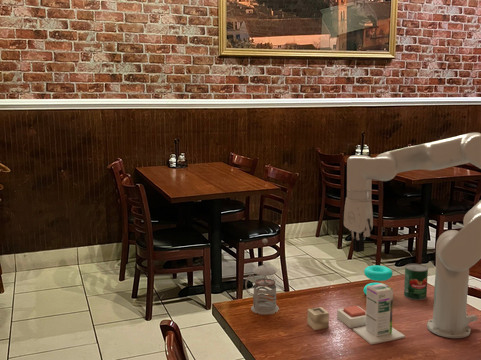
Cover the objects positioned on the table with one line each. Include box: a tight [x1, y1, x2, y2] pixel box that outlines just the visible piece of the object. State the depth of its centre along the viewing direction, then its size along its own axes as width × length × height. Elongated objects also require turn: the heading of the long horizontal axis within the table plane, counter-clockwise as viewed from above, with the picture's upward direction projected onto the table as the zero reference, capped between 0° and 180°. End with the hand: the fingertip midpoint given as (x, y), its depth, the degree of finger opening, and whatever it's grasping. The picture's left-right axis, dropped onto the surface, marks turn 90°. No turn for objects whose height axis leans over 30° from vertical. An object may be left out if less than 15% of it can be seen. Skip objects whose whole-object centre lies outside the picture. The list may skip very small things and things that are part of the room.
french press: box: [244, 238, 280, 316], centre depth 179 cm, size 10×12×25 cm
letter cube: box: [306, 306, 330, 331], centre depth 167 cm, size 5×5×5 cm
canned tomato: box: [403, 263, 429, 301], centre depth 190 cm, size 8×8×11 cm
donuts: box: [363, 264, 393, 296], centre depth 191 cm, size 10×10×10 cm
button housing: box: [336, 305, 366, 329], centre depth 170 cm, size 8×8×3 cm
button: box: [344, 305, 366, 317], centre depth 170 cm, size 5×5×3 cm
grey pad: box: [352, 325, 406, 345], centre depth 161 cm, size 12×10×1 cm
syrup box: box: [365, 282, 394, 337], centre depth 160 cm, size 6×6×14 cm
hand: (358, 250), depth 167 cm, fingers closed
